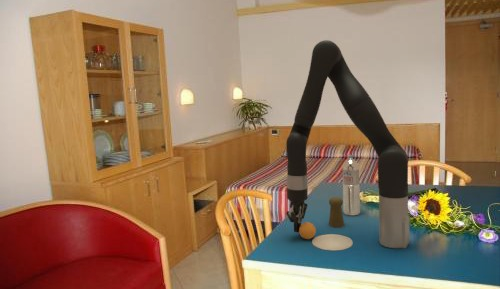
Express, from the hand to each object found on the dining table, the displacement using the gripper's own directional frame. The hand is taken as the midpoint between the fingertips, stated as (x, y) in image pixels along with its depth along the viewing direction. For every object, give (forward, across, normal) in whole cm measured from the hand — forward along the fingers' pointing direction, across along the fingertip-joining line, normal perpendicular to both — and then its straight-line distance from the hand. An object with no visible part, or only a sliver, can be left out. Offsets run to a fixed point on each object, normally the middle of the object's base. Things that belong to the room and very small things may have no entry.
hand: (297, 231), depth 148 cm
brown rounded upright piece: (+2, +17, -8) cm, 19 cm away
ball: (-1, 0, -4) cm, 4 cm away
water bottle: (+2, +32, -10) cm, 34 cm away
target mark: (+1, 0, -14) cm, 14 cm away
